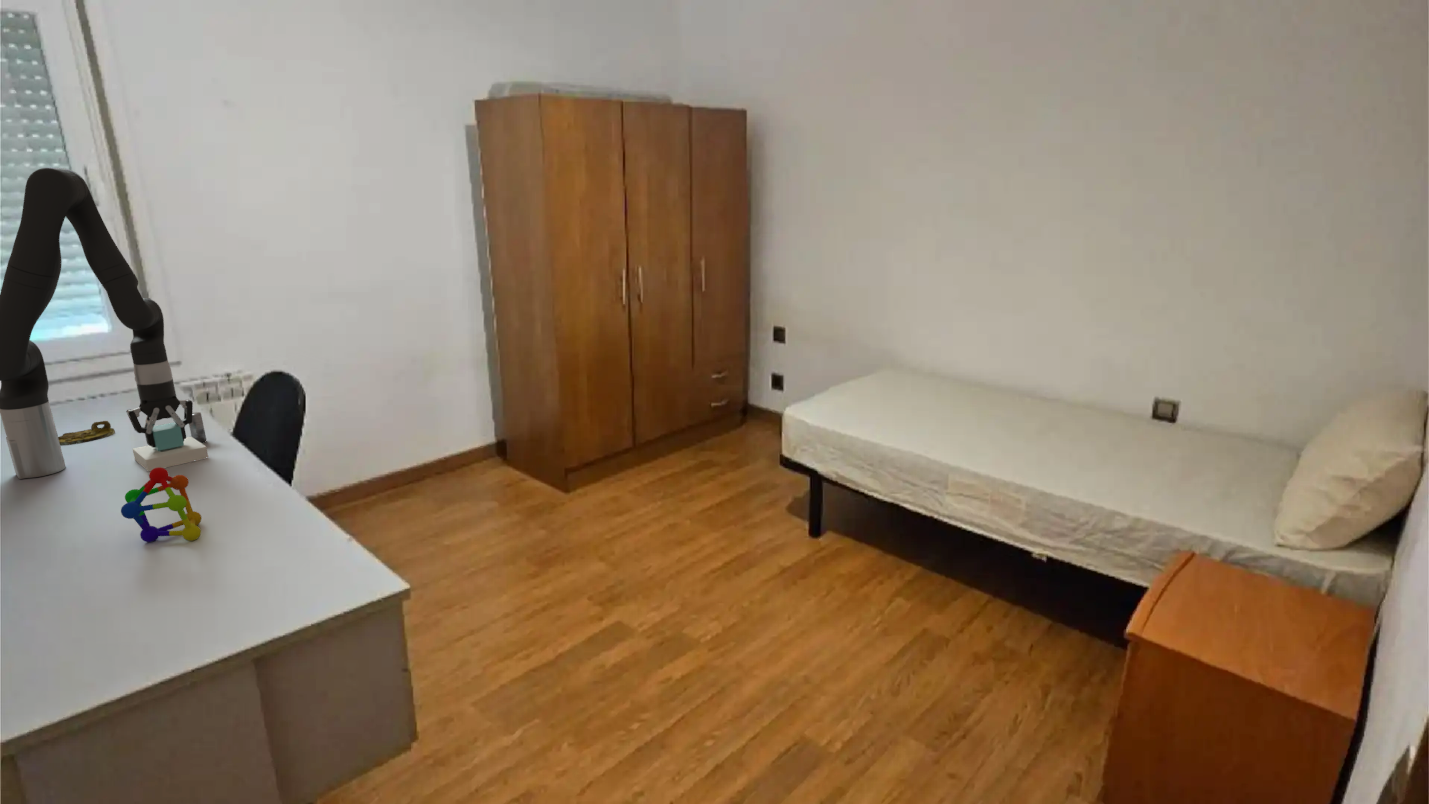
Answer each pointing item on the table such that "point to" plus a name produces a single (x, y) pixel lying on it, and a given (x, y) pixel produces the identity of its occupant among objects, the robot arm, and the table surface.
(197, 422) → the peg
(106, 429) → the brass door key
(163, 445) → the frosted teal cube
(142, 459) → the board
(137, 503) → the educational toy
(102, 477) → the table surface
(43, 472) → the robot arm
